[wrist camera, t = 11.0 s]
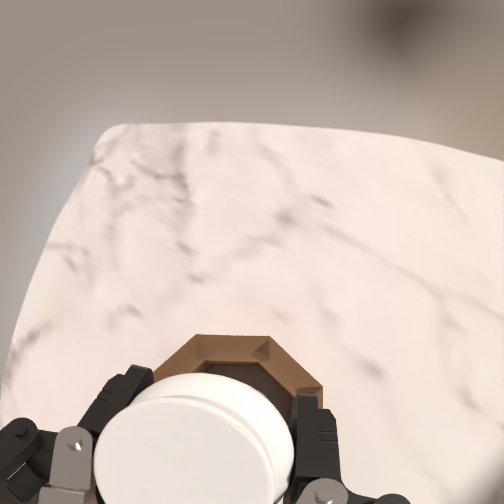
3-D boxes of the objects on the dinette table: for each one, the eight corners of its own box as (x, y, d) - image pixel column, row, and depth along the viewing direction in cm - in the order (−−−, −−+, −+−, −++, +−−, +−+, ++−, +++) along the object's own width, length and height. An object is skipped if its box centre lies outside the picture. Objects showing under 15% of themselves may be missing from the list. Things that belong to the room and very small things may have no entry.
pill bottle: (160, 454, 13) (48, 506, 4) (193, 365, 15) (105, 324, 6) (259, 489, 12) (258, 598, 3) (293, 398, 14) (345, 408, 5)
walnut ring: (237, 312, 21) (233, 300, 18) (345, 415, 17) (358, 418, 15) (130, 407, 18) (111, 408, 15) (233, 512, 15) (228, 529, 12)
